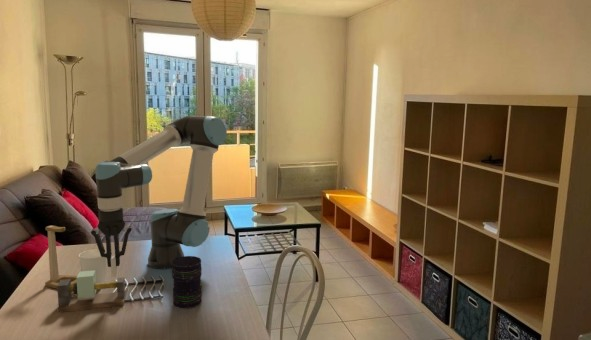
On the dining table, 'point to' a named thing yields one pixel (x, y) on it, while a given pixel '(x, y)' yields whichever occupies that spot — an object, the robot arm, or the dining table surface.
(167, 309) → the dining table surface
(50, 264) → the headphone stand
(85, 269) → the candle holder
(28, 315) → the dining table surface
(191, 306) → the storage jar
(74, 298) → the rail
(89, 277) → the sleeve
